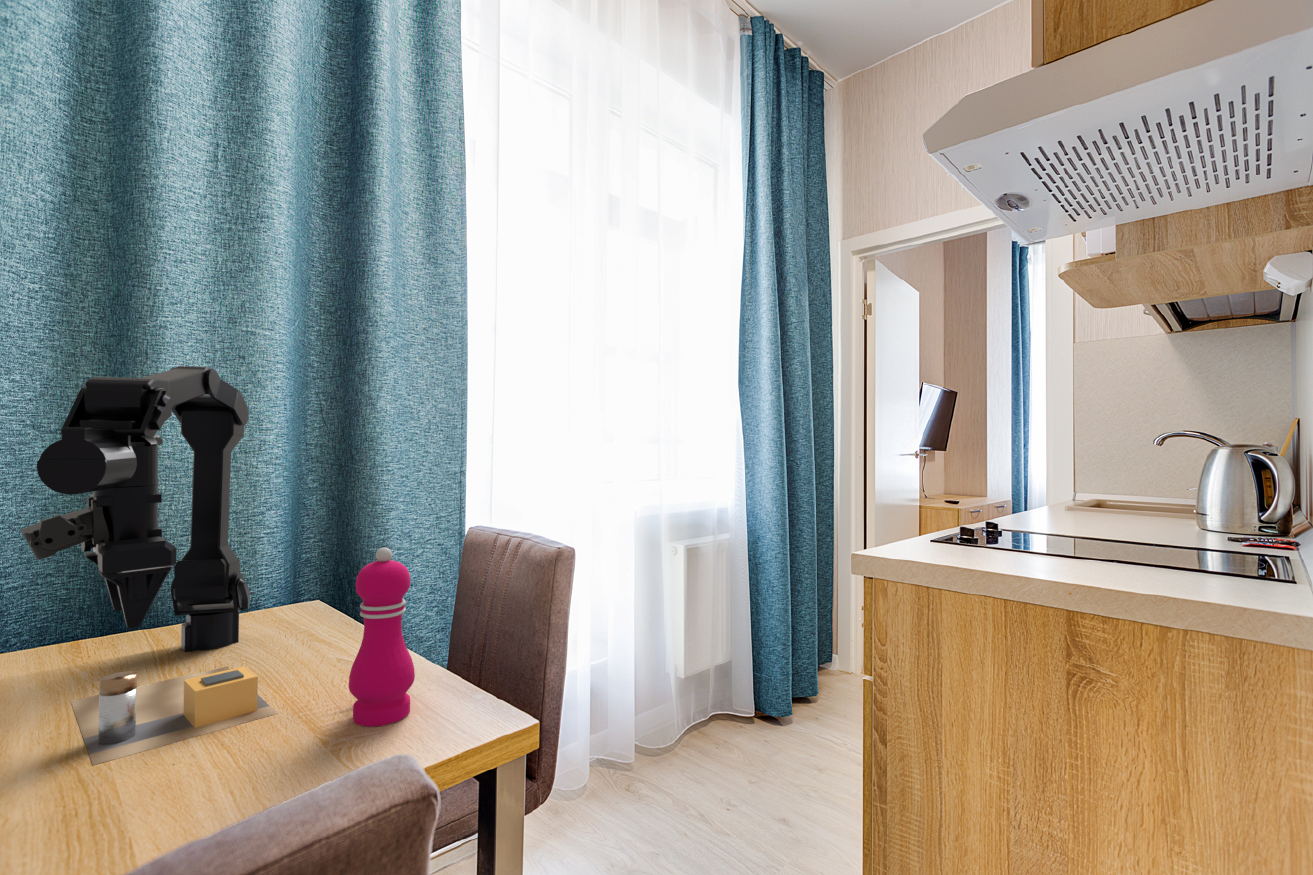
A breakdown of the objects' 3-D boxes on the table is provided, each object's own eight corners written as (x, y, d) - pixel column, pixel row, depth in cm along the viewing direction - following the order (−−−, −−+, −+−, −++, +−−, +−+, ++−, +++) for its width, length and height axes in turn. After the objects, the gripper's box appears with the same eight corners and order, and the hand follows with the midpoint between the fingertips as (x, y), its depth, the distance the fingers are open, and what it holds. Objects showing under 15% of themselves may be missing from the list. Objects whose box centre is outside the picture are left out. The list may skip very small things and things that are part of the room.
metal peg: (133, 728, 68) (134, 669, 68) (137, 737, 66) (139, 676, 66) (96, 738, 66) (97, 676, 66) (100, 747, 64) (101, 683, 64)
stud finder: (243, 698, 76) (244, 663, 76) (257, 710, 73) (257, 673, 73) (183, 714, 71) (183, 677, 71) (194, 727, 68) (195, 688, 68)
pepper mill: (427, 707, 76) (429, 544, 76) (383, 733, 69) (385, 554, 69) (380, 699, 78) (382, 541, 79) (333, 723, 72) (335, 550, 72)
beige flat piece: (227, 673, 87) (227, 666, 87) (277, 721, 72) (278, 713, 72) (70, 709, 75) (70, 700, 75) (92, 775, 60) (92, 765, 60)
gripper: (22, 483, 72) (23, 616, 73) (34, 497, 60) (34, 658, 60) (144, 478, 81) (144, 597, 81) (177, 490, 68) (177, 630, 68)
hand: (126, 618), depth 72 cm, fingers open, 9 cm apart
